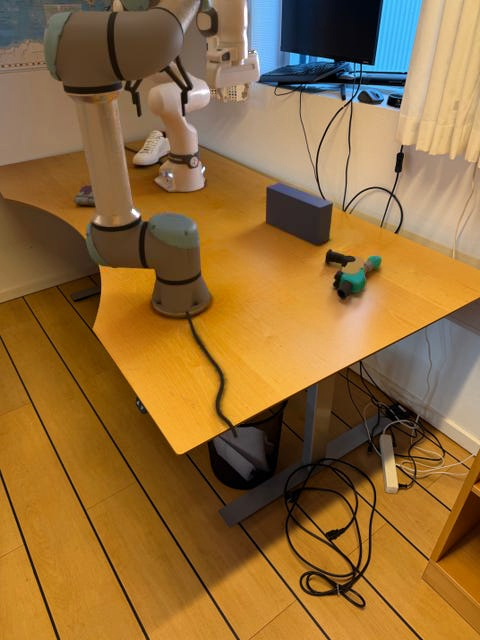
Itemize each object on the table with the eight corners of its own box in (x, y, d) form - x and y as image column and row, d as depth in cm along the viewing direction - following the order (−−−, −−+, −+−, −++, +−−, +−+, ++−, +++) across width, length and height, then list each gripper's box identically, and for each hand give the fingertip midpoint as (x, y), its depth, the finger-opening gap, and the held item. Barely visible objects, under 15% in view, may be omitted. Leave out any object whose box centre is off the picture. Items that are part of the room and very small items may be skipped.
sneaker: (127, 168, 213) (123, 140, 206) (154, 149, 235) (151, 124, 228) (148, 170, 211) (144, 142, 204) (174, 151, 233) (171, 125, 226)
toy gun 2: (303, 279, 125) (359, 293, 119) (335, 240, 143) (384, 251, 138) (302, 294, 128) (356, 308, 122) (333, 254, 146) (382, 265, 140)
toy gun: (131, 195, 187) (116, 210, 175) (87, 192, 190) (69, 207, 178) (130, 185, 185) (114, 200, 173) (85, 182, 188) (67, 197, 176)
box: (329, 239, 154) (333, 202, 147) (316, 245, 151) (320, 207, 143) (277, 217, 169) (279, 182, 161) (265, 222, 166) (266, 186, 158)
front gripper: (199, 33, 135) (203, 112, 148) (112, 34, 136) (124, 113, 148) (196, 35, 129) (201, 118, 142) (105, 36, 130) (118, 118, 142)
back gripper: (251, 48, 155) (251, 94, 164) (201, 54, 145) (204, 103, 153) (264, 50, 152) (263, 97, 160) (215, 56, 141) (216, 106, 149)
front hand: (161, 115), depth 145 cm, fingers open, 13 cm apart
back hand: (234, 100), depth 156 cm, fingers open, 8 cm apart
